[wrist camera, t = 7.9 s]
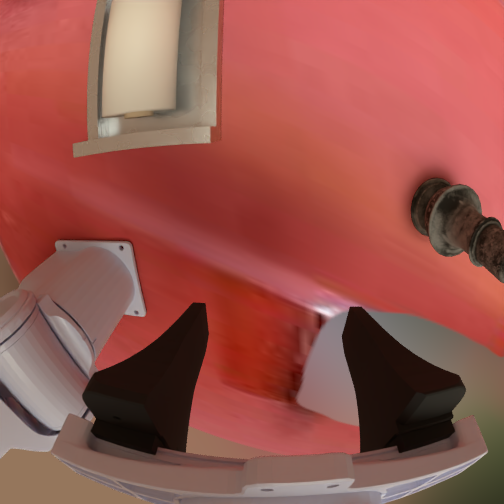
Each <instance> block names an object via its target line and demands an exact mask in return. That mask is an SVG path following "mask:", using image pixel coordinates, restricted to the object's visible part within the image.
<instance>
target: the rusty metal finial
mask: <svg viewBox="0 0 504 504" xmlns="http://www.w3.org/2000/svg"><path fill="white" fill-rule="evenodd" d="M411 218H412V221H413V224H414V226H415V227H416V229H417V230H418V231H419V232H420V233H421V234H423V235H426V236H429V239H430V243H431V244H432V246H433V248H434V249H435V250H436V251H437V252H438V253H439V254H440V255H443V256H447V257H452V256H455V255H458V254H460V253H462V252H463V251H465V252H466V253H467V254H469V258H470V261H471V262H472V263H473V264H474V265H475V266H477V267H482V266H484V267H485V268H486V269H487V270H488V271H489V272H491V273H492V274H493V275H494V276H495V277H496V278H497V279H498V280H499V281H500V282H502V283H504V230H503V229H502V226H501V223H500V222H499V220H497V219H496V218H494V217H488V218H486V217H484V216H483V215H482V209H481V203H480V200H479V198H478V195H477V194H476V193H475V191H474V190H473V189H471V188H470V187H468V186H467V185H462V184H459V185H453V186H451V185H450V183H449V182H447V181H445V180H444V179H440V178H433V179H429V180H428V181H426V182H424V183H423V184H422V185H421V186H420V187H419V188H418V190H417V191H416V193H415V195H414V198H413V200H412V206H411Z"/></svg>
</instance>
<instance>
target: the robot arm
mask: <svg viewBox="0 0 504 504" xmlns="http://www.w3.org/2000/svg"><path fill="white" fill-rule="evenodd" d="M121 245H122V246H123V248H124V249H122V248H121ZM66 246H67V247H66ZM55 247H56V252H55V253H54V254H52V255H51V256H50V257H49V258H47V259H46V260H45V261H44V262H42V263H41V264H40V265H39V266H38V267H36V268H35V269H34V270H33V271H32V272H31V273H29V274H28V275H27V276H26V277H25V278H24V279H23V280H22V282H21V283H20V285H19V287H18V289H16V290H13V291H11V292H9V293H7V294H5V295H4V296H2V297H1V298H0V459H1V457H2V456H3V455H4V454H5V453H6V452H7V451H8V450H9V449H11V448H15V449H23V450H31V451H41V452H47V451H50V450H51V449H52V450H51V454H52V455H53V456H55V457H56V458H57V459H58V460H60V461H61V462H63V463H64V464H65V465H66V466H68V467H69V468H70V469H72V470H73V471H74V472H76V473H77V474H80V475H82V476H84V477H86V478H88V479H91V480H93V481H95V482H97V483H100V484H102V485H104V486H107V487H110V488H112V489H114V490H117V491H120V492H122V493H125V494H127V495H130V496H133V497H136V498H139V499H142V500H145V501H149V502H151V503H155V504H383V503H386V502H390V501H393V500H396V499H399V498H401V497H405V496H408V495H410V494H413V493H415V492H418V491H421V490H423V489H426V488H428V487H430V486H433V485H435V484H437V483H439V482H442V481H444V480H446V479H448V478H451V477H453V476H455V475H457V474H459V473H461V472H462V471H464V470H465V469H466V468H468V467H469V466H470V465H472V464H473V463H475V462H476V461H477V460H479V459H480V458H481V457H482V456H484V455H485V454H486V453H487V452H488V450H487V447H486V445H485V442H484V439H483V437H482V434H481V432H480V429H479V427H478V425H477V423H476V420H475V418H474V415H472V416H469V417H466V418H464V419H461V420H459V421H457V422H455V423H454V424H452V422H451V419H452V418H453V414H452V410H453V409H454V408H455V407H456V405H457V404H458V403H459V402H460V401H461V399H462V398H463V396H464V394H465V392H466V388H465V386H464V384H463V382H462V380H461V378H460V377H459V375H457V374H454V373H451V372H449V371H446V370H443V369H441V368H439V367H437V366H434V365H432V364H431V363H429V362H427V361H425V360H423V359H422V358H420V357H418V356H417V355H415V354H414V353H412V352H411V351H410V350H408V349H407V348H405V347H404V346H403V345H401V344H400V343H399V342H398V341H397V340H395V339H394V338H393V337H392V336H391V335H390V334H389V333H387V332H386V331H385V330H384V329H383V328H382V327H381V326H380V325H379V324H378V323H377V322H376V321H375V320H374V319H373V318H372V317H371V316H370V315H369V314H368V313H367V312H366V311H365V310H364V309H363V308H362V307H350V308H349V312H348V316H347V320H346V324H345V327H344V331H343V334H342V341H343V348H344V354H345V357H346V361H347V364H348V367H349V371H350V374H351V378H352V381H353V384H354V388H355V393H356V399H357V406H358V415H359V426H360V453H358V454H351V455H349V454H346V453H324V454H311V455H289V456H259V457H255V458H251V459H234V458H224V457H214V456H205V455H198V454H192V453H186V443H187V434H188V426H189V418H190V412H191V405H192V400H193V394H194V389H195V385H196V382H197V379H198V375H199V372H200V369H201V366H202V362H203V359H204V356H205V352H206V348H207V342H208V335H209V331H208V322H207V313H206V304H205V303H192V304H191V305H190V307H189V308H188V309H187V310H186V311H185V312H184V313H183V314H182V315H181V316H180V318H179V319H178V320H177V321H176V322H175V323H174V324H173V325H172V326H171V327H170V328H169V329H168V330H167V331H165V332H164V333H163V334H162V335H161V336H160V337H159V338H158V339H156V340H155V341H154V342H153V343H151V344H150V345H149V346H147V347H146V348H145V349H143V350H141V351H140V352H138V353H137V354H135V355H133V356H132V357H130V358H128V359H126V360H124V361H122V362H120V363H118V364H116V365H114V366H111V367H109V368H106V369H104V370H101V371H98V369H97V368H96V366H95V363H94V362H95V361H96V359H97V357H98V355H99V354H100V352H101V350H102V349H103V347H104V345H105V344H106V342H107V340H108V339H109V337H110V335H111V334H112V332H113V331H114V329H115V327H116V326H117V324H118V323H119V321H120V319H121V318H122V316H123V315H124V314H125V315H133V316H141V317H144V316H145V315H146V308H145V304H144V300H143V295H142V291H141V287H140V282H139V277H138V273H137V268H136V263H135V257H134V252H133V246H132V244H131V243H130V242H128V241H90V240H58V241H56V242H55ZM137 311H138V312H137ZM93 416H95V418H96V420H95V422H94V424H93V423H92V422H90V421H91V420H92V418H93Z"/></svg>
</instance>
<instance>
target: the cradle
mask: <svg viewBox="0 0 504 504" xmlns="http://www.w3.org/2000/svg"><path fill="white" fill-rule="evenodd" d="M111 4H112V0H97V4H96V9H95V15H94V21H93V28H92V35H91V43H90V53H89V66H88V85H87V126H88V141H84V142H79V143H75V144H73V155H74V157H80V156H85V155H91V154H97V153H104V152H111V151H118V150H126V149H134V148H143V147H153V146H165V145H179V144H198V143H212V142H216V141H219V140H221V89H222V42H223V15H224V0H182V7H181V17H180V28H179V42H178V58H177V83H176V110H173V111H167V112H160V113H154V115H153V116H148V117H140V118H130V119H124V117H112V118H103V117H102V86H103V67H104V55H105V45H106V36H107V29H108V22H109V15H110V10H111Z"/></svg>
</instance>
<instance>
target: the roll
mask: <svg viewBox="0 0 504 504" xmlns="http://www.w3.org/2000/svg"><path fill="white" fill-rule="evenodd" d="M181 7H182V0H112V4H111V10H110V15H109V22H108V29H107V36H106V45H105V55H104V67H103V86H102V117H103V118H112V117H124V119H130V118H140V117H148V116H153V115H154V113H160V112H167V111H173V110H176V83H177V58H178V42H179V28H180V17H181Z"/></svg>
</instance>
